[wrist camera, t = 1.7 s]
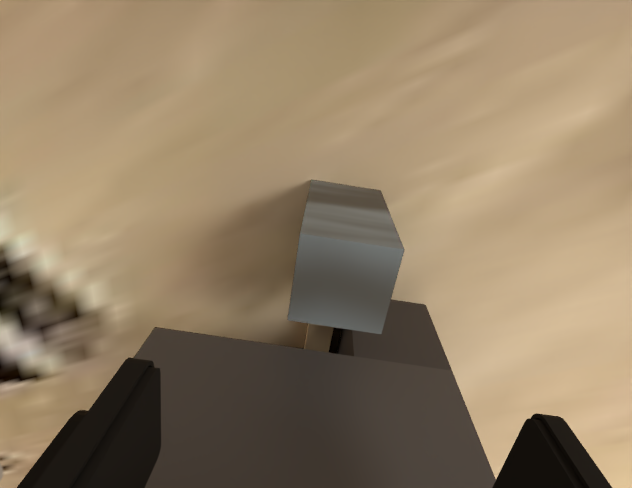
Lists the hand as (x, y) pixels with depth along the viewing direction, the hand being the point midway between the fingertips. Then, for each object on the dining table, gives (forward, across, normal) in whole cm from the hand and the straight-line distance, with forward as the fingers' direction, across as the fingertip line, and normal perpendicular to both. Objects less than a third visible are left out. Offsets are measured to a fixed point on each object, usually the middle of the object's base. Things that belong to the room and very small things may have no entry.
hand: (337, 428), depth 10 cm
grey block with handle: (+14, 0, +9) cm, 17 cm away
